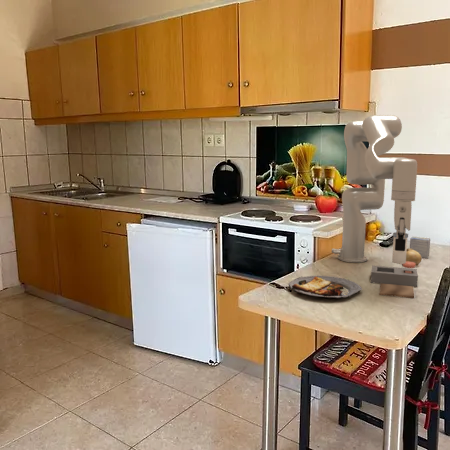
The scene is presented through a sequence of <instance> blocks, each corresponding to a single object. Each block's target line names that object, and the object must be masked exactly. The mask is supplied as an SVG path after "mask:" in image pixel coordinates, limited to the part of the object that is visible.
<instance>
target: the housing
mask: <svg viewBox="0 0 450 450" xmlns="http://www.w3.org/2000/svg"><path fill="white" fill-rule="evenodd" d="M405 271H412V273H405ZM418 279H419V275H418V270H417V268H405V267H397V266H394V267H393V266H386V265H385V266H384V265H383V266H382V265H374V264H372V267H371V271H370V283H371V284H372V283H373V284H380V283H382V284H393V285H403V286H413V288H414V287H415V288H417V287H418Z"/></svg>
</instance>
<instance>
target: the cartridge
mask: <svg viewBox="0 0 450 450" xmlns="http://www.w3.org/2000/svg"><path fill="white" fill-rule="evenodd" d="M398 233H399V232H398ZM396 236H397V232H393V233H392V237H393V242H392V244H393V245H392V259H391V261H392V263H393V264H396V265H403V264H405V263H406V252H407V248H408V239H409V233H406V232H405V239H406V243H405V251H396V250H395V239H396Z"/></svg>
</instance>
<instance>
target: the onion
mask: <svg viewBox="0 0 450 450" xmlns="http://www.w3.org/2000/svg"><path fill="white" fill-rule="evenodd" d="M422 259H423V258H421V255H420V254H419V253H418V252H417V251H415V250H413V249H410V247H409V248H408V247H407V252H406V261H409V262H414V263H416V264H415V267H416V266H418V265H419V264H420V263H421V262H422Z"/></svg>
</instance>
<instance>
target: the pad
mask: <svg viewBox="0 0 450 450" xmlns="http://www.w3.org/2000/svg"><path fill="white" fill-rule="evenodd" d="M379 285H380V286H379V296H388V297H396V298H397V297H398V298H406V299H407V298H408V299H415V291H414V287H413V286H403V285H393V284H382V283H379Z"/></svg>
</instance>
